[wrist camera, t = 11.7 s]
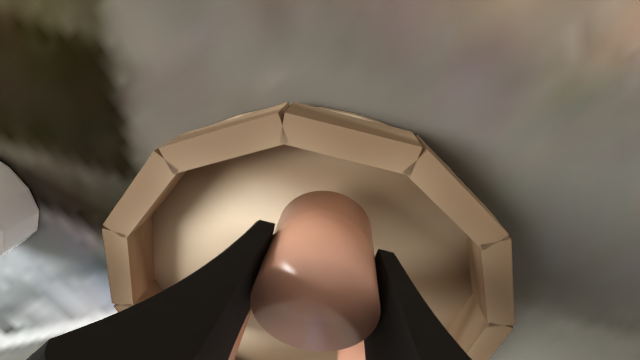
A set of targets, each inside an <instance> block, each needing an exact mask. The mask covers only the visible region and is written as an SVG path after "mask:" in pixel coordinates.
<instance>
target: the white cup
mask: <svg viewBox="0 0 640 360" xmlns="http://www.w3.org/2000/svg"><path fill="white" fill-rule="evenodd" d="M38 221H39V209H38V207H37V205H36V203H35V200H34V198H33V196H32V194H31V192H30V190H29V188H28V187H27V186H26V185H25V184H24V183H23V181H22V180H21V179H20V178H19V177H18V176H17V175H16V174H15V173H14V172H13V171H12V169H11V168H10V167H8V166H7V165H5V164H4V163H2V162H1V161H0V257H2V256H3V255H5V254H6V253H8V252H9V251H11V250H12V249H14V248H15V247H17V246H18V245H20V244H21V243H23V242H24V241H25V240H27V239H28V238H29V237H30V236H31V235H32V234H33V233H34V232H35V231H37V229H38Z"/></svg>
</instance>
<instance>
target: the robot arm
mask: <svg viewBox="0 0 640 360" xmlns="http://www.w3.org/2000/svg"><path fill="white" fill-rule="evenodd" d="M274 227H275V223H271V222H267V221H263V220H258V221H256V222H255V223H254V224H253V226H251V227H250V228H249V229H248V230H247V231H246V232H245V233H244V234H243V235H242V236H241V237H240V238H239V239H237V240H236V241H235V242H234V243H233V244H231V245H230V246H229V247H228V248H227V249H225V250H224V251H223V252H222V253H220V254H219V255H218V256H216V257H215V258H214V259H212V260H211V261H209V262H208V263H207V264H205V265H204V266H202V267H201V268H200V269H198V270H197V271H195V272H193V273H192V274H190V275H189V276H187V277H186V278H184V279H182V280H181V281H179V282H177V283H176V284H174V285H172V286H170V287H168V288H167V289H165V290H163V291H161V292H159V293H157V294H156V295H154V296H152V297H150V298H148V299H146V300H144V301H142V302H140V303H137V304H135V305H133V306H131V307H129V308H127V309H124V310H122V311H120V312H118V313H116V314H114V315H111V316H109V317H107V318H104V319H102V320H99V321H97V322H94V323H92V324H89V325H86V326H84V327H81V328H78V329H76V330H73V331H70V332H68V333H65V334H63V335H60V336H57V337H54V338H51V339H49V340H48V341H47V342H46V343H45V344H44V345H43V346H41V347H40V348H39V349H38V350H37V351H36V352H34V353H33V354H32V355H31V356H30V357H29V358H28V359H27V360H228V359H229V356H230V354H231V351H232V349H233V346H234V344H235V341H236V339H237V337H238V335H239V333H240V330H241V328H242V326H243V324H244V321H245V319H246V317H247V315H248V313H249V310H250V308H251V304H250V295H251V291H252V288H253V285H254V282H255V280H256V277H257V275H258V272H259V270H260V267H261V264H262V262H263V259H264V257H265V254H266V252H267V249H268V247H269V244H270V242H271V239H272V237H273V232H274ZM375 264H376V273H377V282H378V290H379V299H380V319H379V321H378V324H377V326H376V328H375V329H374V331H373V332H372V333H371V334H370V335H369V336H368V337H367V338H366V339H365V340H364V348H365V360H472V359H471V358H470V357H469V356H468V355H467V353H466V352H465V351H464V350H463V349H462V348H461V347H460V345H459V344H458V343H457V342H456V341H455V339H454V338H453V337H452V336H451V335H450V334H449V332H448V331H447V330H446V329H445V327H444V326H443V325H442V324H441V322H440V321H439V320H438V318H437V317H436V315H435V314H434V313H433V311H432V310H431V309H430V307H429V306H428V305H427V303H426V302H425V300H424V299H423V297H422V296H421V294H420V293H419V291H418V290H417V288H416V287H415V285H414V284H413V282H412V281H411V279H410V278H409V276H408V274H407V273H406V271H405V270H404V268H403V266H402V265H401V263H400V262H399V260H398V258H397V257H396V255H395V254H394V252H389V251H385V250H381V249H378V251H377V253H376V255H375Z"/></svg>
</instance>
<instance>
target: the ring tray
mask: <svg viewBox="0 0 640 360" xmlns="http://www.w3.org/2000/svg"><path fill="white" fill-rule="evenodd" d="M313 191H332V192H337V193H340V194H343V195H345V196H347V197H349V198H351V199H352V200H354V201H355V202H356V203H358V204H359V205H360V206H361V207H362V208H363V210H364V211H365V212H366V214H367V216H368V218H369V220H370V224H371V229H372V238H373V247H374V255H376V253H377V251H378V249H381V250H385V251H389V252H394V254H395V255H396V257H397V258H398V260H399V262H400V263H401V265H402V266H403V268H404V270H405V271H406V273H407V274H408V276H409V278H410V279H411V281H412V282H413V284H414V285H415V287H416V288H417V290H418V291H419V293H420V294H421V296H422V297H423V299H424V300H425V302H426V303H427V305H428V306H429V307H430V309H431V310H432V311H433V313H434V314H435V315H436V317H437V318H438V320H439V321H440V322H441V324H442V325H443V326H444V327H445V329H446V330H447V331H448V332H449V334H450V335H451V336H452V337H453V338H454V339H455V341H456V342H457V343H458V344H459V345H460V347H461V348H462V349H463V350H464V351H465V352H466V353H467V355H468V356H469V357H470V358H471V359H472V360H488V359H489V358H490V357H491V355H492V354H493V353H494V352H495V350H496V349H497V348H498V347H499V345H500V344H501V343H502V342H503V340H504V339H505V338H506V337H507V336H508V334H509V333H510V332H511V331H512V329H513V326H512V325H515V316H514V292H513V267H512V243H511V238H510V237H509V234H508V233H507V231H506V230H505V229H504V228H503V227H502V225H501V224H500V223H499V222H498V220H497V219H496V218H495V217H494V215H493V214H492V213H491V212H490V211H489V209H488V208H487V207H486V206H485V205H484V204H483V203H482V202H481V201H480V200H479V199H478V198H477V197H476V196H475V195H474V194H473V193H472V192H471V190H470V189H469V188H468V187H467V186H466V185H465V184H464V183H463V182H462V181H461V180H460V179H459V178H458V177H457V176H456V175H455V173H454V172H453V171H452V170H451V168H450V167H449V166H448V165H447V164H445V163H444V162H443V161H442V160H441V159H440V158H439V157H438V156H437V155H436V154H435V153H434V152H433V151H432V150H431V149H430V148H429V146H428V145H427V144H426V143H425V142H424V141H423V140H422V139H421V138H420V137H419V136H418V135H416V136H415V135H414V134H413V132H411V131H407V130H404V129H400V128H396V127H392V126H389V125H387V124H385V123H383V122H381V121H378V120H375V119H371V118H368V117H365V116H362V115H359V114H356V113H353V112H348V111H342V110H337V109H331V108H326V107H313V106H309V105H305V104H301V103H297V102H294V103H293V104H292V105H291V106H289V103H288V102H286V103H283V104H280V105H276V106H273V107H270V108H265V109H260V110H256V111H251V112H247V113H243V114H239V115H236V116H234V117H231V118H229V119H226V120H223V121H221V122H218V123H216V124H213V125H210V126H207V127H203V128H200V129H197V130H193V131H190V132H187V133H184V134H182V135H180V136H178V137H177V138H175V139H173V140H171V141H170V142H168V143H166V144H164V145H163V146H161V147H159V148H158V149H157V150H155V151H154V152H153V153H152V155H151V156H150V157H149V159H148V160H147V162H146V163H145V165H144V166H143V167H142V169H141V170H140V172H139V173H138V175H137V176H136V177H135V179H134V180H133V182H132V183H131V185H130V186H129V188H128V189H127V190H126V192H125V193H124V195H123V196H122V198H121V199H120V200H119V202H118V203H117V205H116V206H115V208H114V209H113V211H112V212H111V213H110V215H109V216H108V218H107V219H106V221H105V222H104V223H103V225H104V226H105V227H103V228H102V234H103V241H104V248H105V256H106V263H107V270H108V277H109V285H110V292H111V299H112V303H114V304H115V305H114V307H115V309H116V310H117V311H118V312H120V311H122V310H124V309H127V308H129V307H131V306H133V305H135V304H137V303H140V302H142V301H144V300H146V299H148V298H150V297H152V296H154V295H156V294H157V293H159V292H161V291H163V290H165V289H167V288H168V287H170V286H172V285H174V284H176V283H177V282H179V281H181V280H182V279H184V278H186V277H187V276H189V275H190V274H192V273H193V272H195V271H197V270H198V269H200V268H201V267H202V266H204V265H205V264H207V263H208V262H209V261H211V260H212V259H214V258H215V257H216V256H218V255H219V254H220V253H222V252H223V251H224V250H225V249H227V248H228V247H229V246H230V245H231V244H233V243H234V242H235V241H236V240H237V239H239V238H240V237H241V236H242V235H243V234H244V233H245V232H246V231H247V230H248V229H249V228H250V227H251V226H253V224H254V223H255V222H256V221H258V220H263V221H267V222H271V223H275V227H274V231H275V228H276V226H277V223H278V221H279V218H280V216H281V214H282V211H283V210H284V208H285V207H286V206H287V205H288V204H289V203H290V202H291V201H292V200H293V199H295V198H296V197H298V196H300V195H302V194H305V193H308V192H313ZM273 234H274V232H273ZM234 360H337V351H328V352H316V351H308V350H303V349H299V348H295V347H292V346H290V345H287V344H285V343H283V342H281V341H279V340H277V339H276V338H274V337H273V336H271V335H270V334H269V333H267V332H266V331H265V330H264V329H263V328H262V327H261V326H260V324H259V323H258V322H257V320H256V319H255V317H254V314H253V312H251V315H250V317H249V320H248V323H247V326H246V328H245V331H244V334H243V337H242V340H241V342H240V345H239V348H238V351H237V353H236V356H235V359H234Z"/></svg>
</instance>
